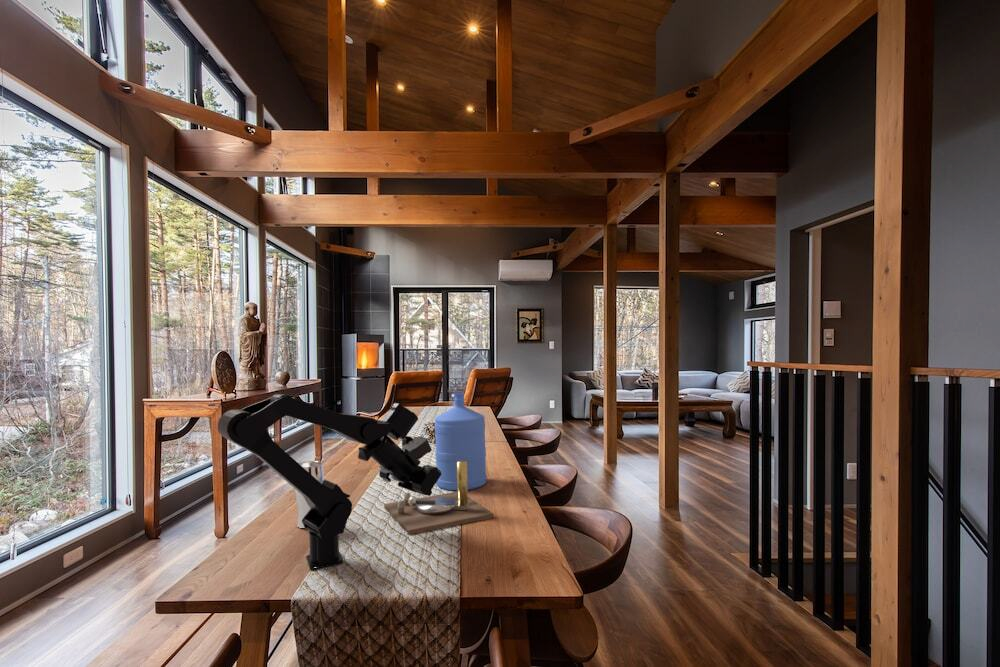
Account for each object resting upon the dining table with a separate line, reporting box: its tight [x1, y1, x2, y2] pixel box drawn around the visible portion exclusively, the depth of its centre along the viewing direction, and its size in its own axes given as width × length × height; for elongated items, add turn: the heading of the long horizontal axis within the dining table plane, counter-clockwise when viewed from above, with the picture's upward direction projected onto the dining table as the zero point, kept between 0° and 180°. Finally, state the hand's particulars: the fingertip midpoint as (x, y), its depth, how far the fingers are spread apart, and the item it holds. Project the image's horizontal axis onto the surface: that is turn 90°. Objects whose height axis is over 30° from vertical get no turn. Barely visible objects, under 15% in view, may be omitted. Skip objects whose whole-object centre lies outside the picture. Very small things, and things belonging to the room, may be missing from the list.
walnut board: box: [383, 491, 494, 535], centre depth 135 cm, size 22×22×4 cm
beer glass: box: [293, 460, 325, 529], centre depth 129 cm, size 7×7×15 cm
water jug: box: [434, 392, 488, 491], centre depth 161 cm, size 16×16×28 cm
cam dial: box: [408, 461, 469, 514], centre depth 135 cm, size 16×10×12 cm, turn 81°
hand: (430, 493), depth 125 cm, fingers closed
